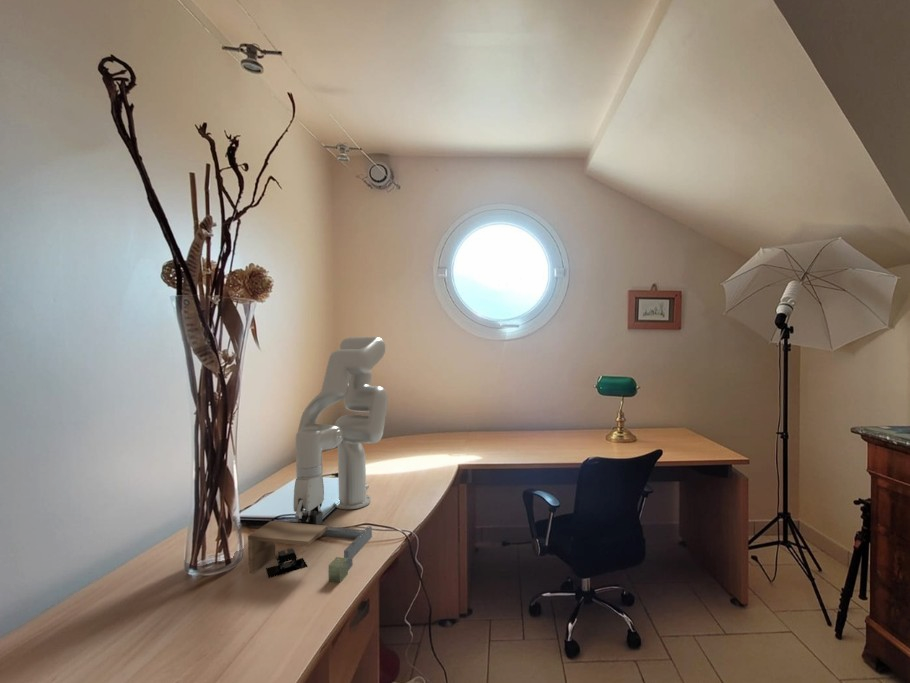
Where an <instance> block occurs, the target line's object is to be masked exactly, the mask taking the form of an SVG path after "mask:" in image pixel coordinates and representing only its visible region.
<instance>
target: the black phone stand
mask: <svg viewBox="0 0 910 683" xmlns="http://www.w3.org/2000/svg"><path fill="white" fill-rule="evenodd" d="M276 562H277V564H276V565H275V564H274V565H272V566H269V567H265V569H266V570H265V571H266V574H267V577H268V579H270V578H274V577H275V578H276V577H278V576H281V575H285V574H288V573H292V572H294V571H298V570H302V569H305V568H309V567H308V563H307V562H306V561H305V559H304V558H303V557H301V558H298V557H297V554H296V551H295V550H294V548H293V547H292V548H287V549H286V550H285V549H284V550H279V551H278V554H277V555H276Z"/></svg>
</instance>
